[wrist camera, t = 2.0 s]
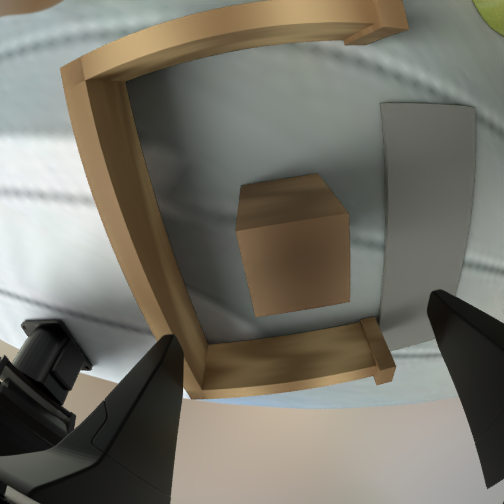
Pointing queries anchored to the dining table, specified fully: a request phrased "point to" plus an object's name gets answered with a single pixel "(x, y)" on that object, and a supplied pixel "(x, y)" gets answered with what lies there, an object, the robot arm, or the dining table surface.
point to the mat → (424, 211)
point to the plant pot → (492, 13)
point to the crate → (146, 208)
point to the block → (293, 245)
